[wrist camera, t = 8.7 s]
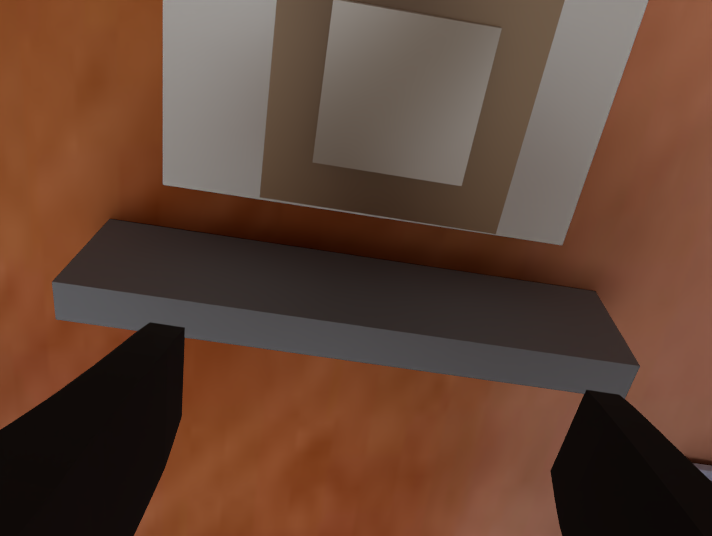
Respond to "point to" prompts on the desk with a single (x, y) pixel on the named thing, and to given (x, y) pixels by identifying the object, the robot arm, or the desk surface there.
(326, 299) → the screen
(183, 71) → the pad
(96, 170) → the desk surface
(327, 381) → the desk surface
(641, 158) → the desk surface
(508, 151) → the brown cube
